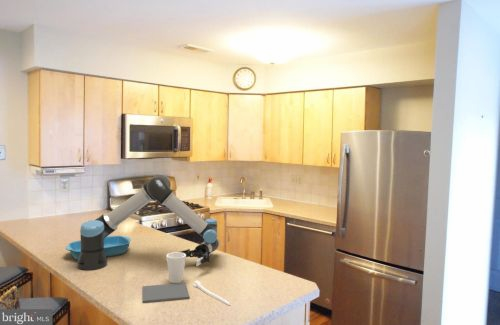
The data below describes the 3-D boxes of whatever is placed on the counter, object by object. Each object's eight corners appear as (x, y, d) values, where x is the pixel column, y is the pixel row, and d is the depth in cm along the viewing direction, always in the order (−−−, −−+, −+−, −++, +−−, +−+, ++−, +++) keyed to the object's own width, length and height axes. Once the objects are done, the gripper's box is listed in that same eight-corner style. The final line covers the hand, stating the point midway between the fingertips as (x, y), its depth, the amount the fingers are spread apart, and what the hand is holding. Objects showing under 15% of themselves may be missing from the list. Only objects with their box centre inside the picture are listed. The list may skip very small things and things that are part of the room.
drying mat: (142, 303, 165) (142, 300, 165) (142, 288, 181) (142, 286, 181) (189, 298, 171) (189, 296, 171) (185, 284, 186) (185, 282, 186)
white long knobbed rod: (235, 304, 167) (235, 298, 167) (228, 307, 165) (228, 300, 164) (198, 284, 188) (198, 278, 188) (191, 286, 185) (191, 280, 185)
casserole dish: (70, 265, 209) (70, 252, 209) (61, 254, 227) (61, 242, 226) (136, 253, 231) (136, 242, 231) (124, 244, 249) (124, 233, 248)
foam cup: (166, 285, 185) (167, 258, 184) (165, 278, 194) (165, 252, 193) (186, 283, 188) (187, 257, 187) (184, 276, 197) (185, 251, 196)
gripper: (223, 259, 215) (207, 272, 195) (183, 253, 223) (163, 265, 203) (223, 246, 214) (207, 257, 194) (183, 241, 222) (164, 251, 202)
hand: (185, 261), depth 198 cm, fingers open, 13 cm apart
